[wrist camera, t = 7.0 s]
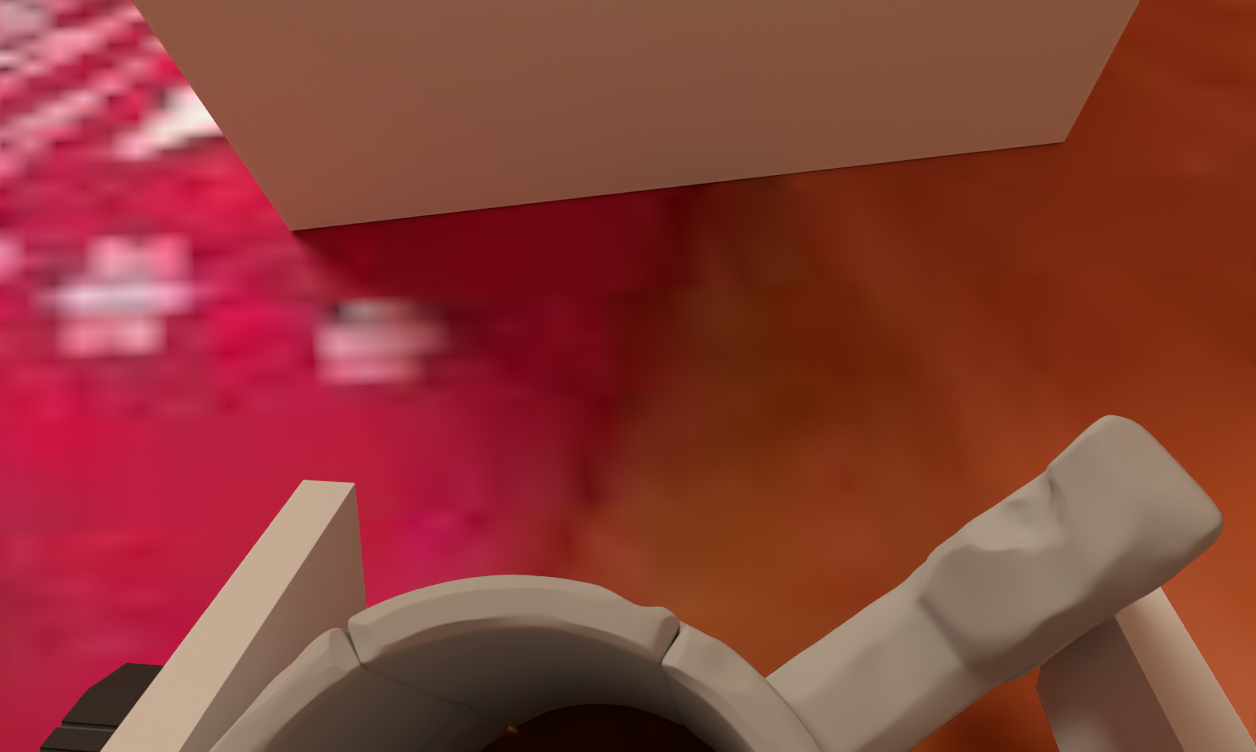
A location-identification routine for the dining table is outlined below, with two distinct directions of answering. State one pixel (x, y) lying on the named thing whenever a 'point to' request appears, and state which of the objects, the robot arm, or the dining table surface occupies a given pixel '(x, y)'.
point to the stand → (616, 91)
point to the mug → (718, 676)
